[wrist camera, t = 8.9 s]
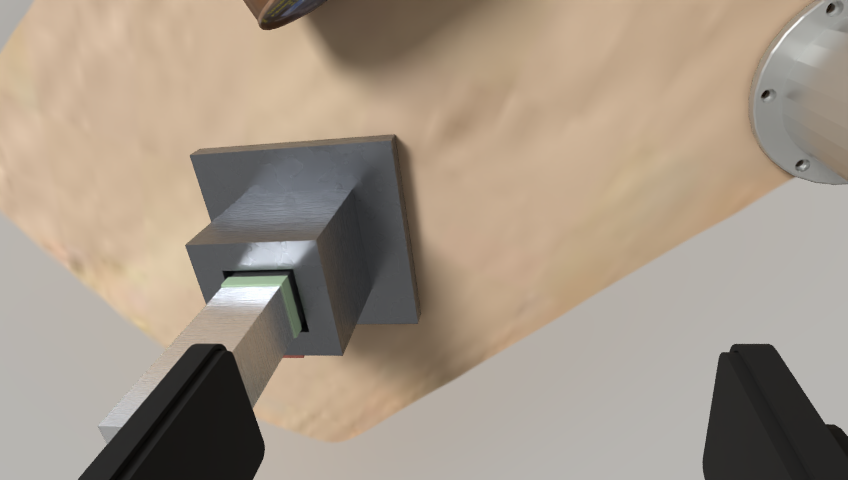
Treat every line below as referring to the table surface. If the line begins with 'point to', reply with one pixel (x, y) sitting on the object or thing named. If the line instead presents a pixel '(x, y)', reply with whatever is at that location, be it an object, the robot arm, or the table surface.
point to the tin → (280, 11)
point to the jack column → (230, 336)
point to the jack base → (312, 231)
